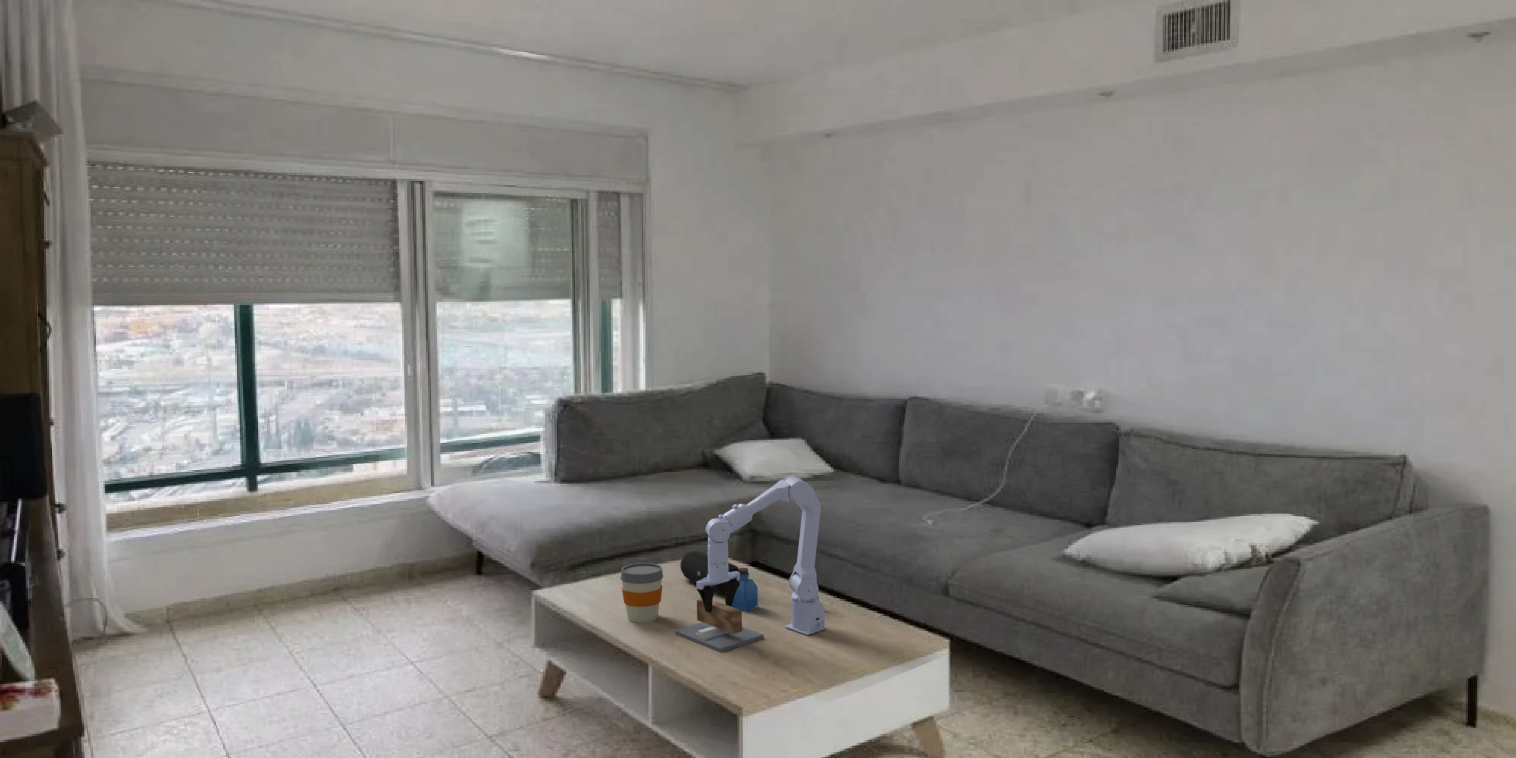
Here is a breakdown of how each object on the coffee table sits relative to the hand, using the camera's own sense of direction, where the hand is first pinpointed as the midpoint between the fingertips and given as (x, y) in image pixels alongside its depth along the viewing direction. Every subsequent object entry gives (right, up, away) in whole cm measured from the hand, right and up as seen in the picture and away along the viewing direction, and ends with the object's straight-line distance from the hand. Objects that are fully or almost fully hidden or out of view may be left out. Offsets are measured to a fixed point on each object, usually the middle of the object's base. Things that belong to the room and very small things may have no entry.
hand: (718, 608), depth 294 cm
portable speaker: (-4, -4, +47) cm, 47 cm away
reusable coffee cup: (-23, -7, +17) cm, 30 cm away
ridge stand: (0, -8, +1) cm, 8 cm away
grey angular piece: (+26, -6, +22) cm, 35 cm away
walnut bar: (0, -5, 0) cm, 5 cm away
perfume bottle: (+7, -6, +26) cm, 27 cm away
